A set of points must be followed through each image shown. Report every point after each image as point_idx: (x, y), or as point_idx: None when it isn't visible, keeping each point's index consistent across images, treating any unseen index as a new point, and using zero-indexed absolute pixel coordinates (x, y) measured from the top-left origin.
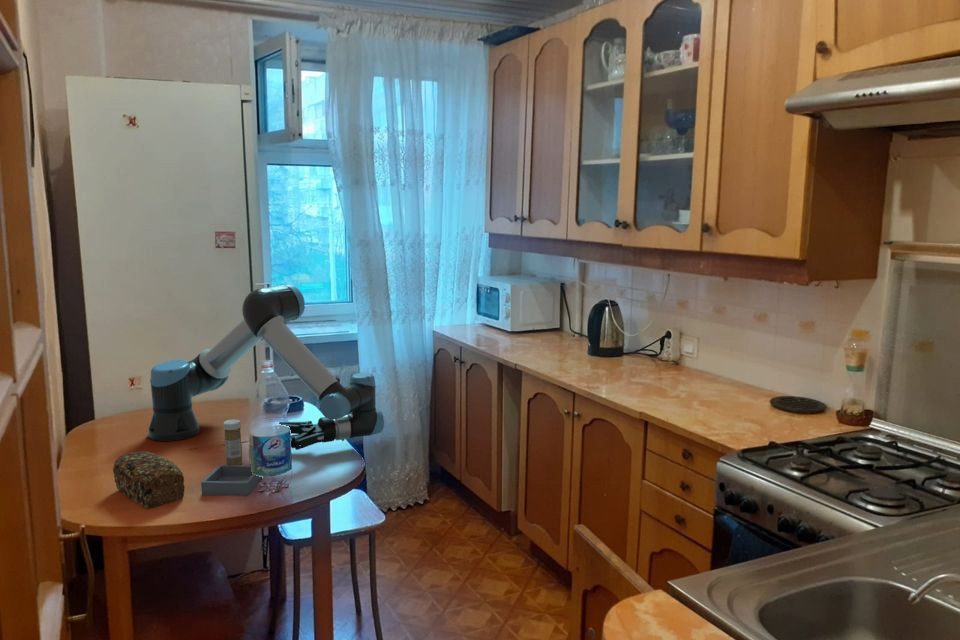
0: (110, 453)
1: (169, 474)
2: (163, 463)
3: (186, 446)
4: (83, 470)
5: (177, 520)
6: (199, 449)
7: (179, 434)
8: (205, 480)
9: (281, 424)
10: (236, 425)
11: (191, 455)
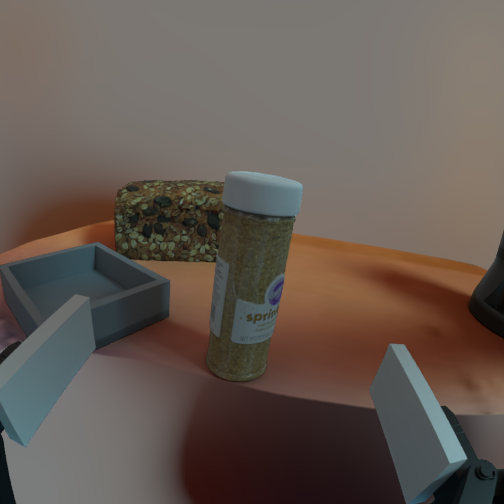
0: (410, 268)
1: (117, 195)
2: (149, 184)
3: (447, 325)
4: (343, 246)
5: (51, 238)
6: (428, 337)
7: (485, 310)
8: (98, 246)
9: (483, 482)
10: (225, 184)
11: (386, 321)
